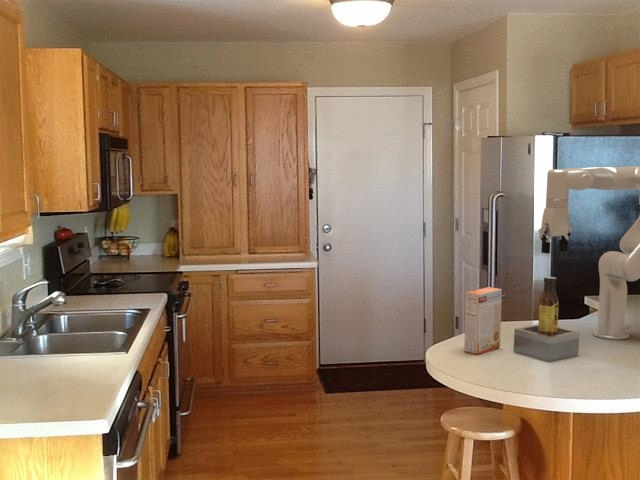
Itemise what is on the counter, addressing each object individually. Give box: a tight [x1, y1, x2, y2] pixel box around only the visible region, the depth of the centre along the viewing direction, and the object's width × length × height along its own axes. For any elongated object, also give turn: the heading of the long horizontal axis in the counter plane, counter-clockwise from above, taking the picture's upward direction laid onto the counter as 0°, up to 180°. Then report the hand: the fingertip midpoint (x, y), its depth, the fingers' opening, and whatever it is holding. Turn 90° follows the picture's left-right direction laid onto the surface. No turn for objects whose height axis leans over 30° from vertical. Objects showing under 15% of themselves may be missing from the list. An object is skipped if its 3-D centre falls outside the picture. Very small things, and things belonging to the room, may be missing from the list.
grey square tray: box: [513, 323, 580, 363], centre depth 266 cm, size 17×15×8 cm
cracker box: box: [463, 286, 503, 356], centre depth 268 cm, size 14×6×21 cm, turn 134°
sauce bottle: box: [537, 276, 559, 336], centre depth 264 cm, size 7×6×20 cm
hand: (554, 252), depth 280 cm, fingers open, 9 cm apart
